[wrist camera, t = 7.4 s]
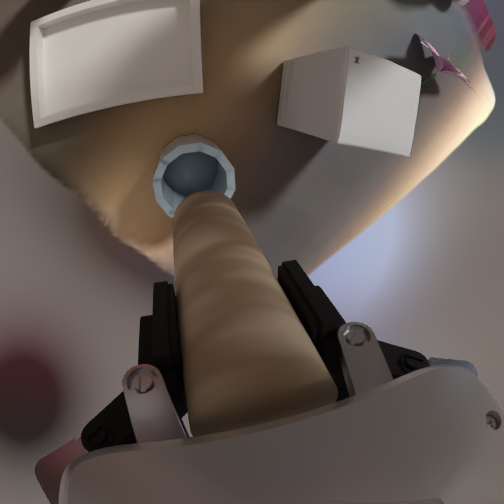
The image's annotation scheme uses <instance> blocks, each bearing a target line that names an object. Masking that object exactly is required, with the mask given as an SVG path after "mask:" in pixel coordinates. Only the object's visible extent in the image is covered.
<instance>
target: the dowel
mask: <svg viewBox="0 0 504 504" xmlns="http://www.w3.org/2000/svg"><path fill="white" fill-rule="evenodd" d="M173 249H174V274H175V293H176V302H177V316H178V328H179V339H180V349H181V359H182V368H183V381H184V389H185V397H186V404H187V411H188V418H189V424H190V430H191V433H192V435H193V437H196V436H203V435H209V434H215V433H221V432H226V431H231V430H236V429H241V428H246V427H250V426H255V425H259V424H263V423H267V422H271V421H275V420H279V419H283V418H287V417H290V416H294V415H297V414H301V413H304V412H307V411H311V410H314V409H317V408H320V407H323V406H326V405H329V404H332V403H335V402H336V400H337V397H338V389H337V386H336V384H335V383H334V381H333V379H332V377H331V375H330V374H329V372H328V370H327V368H326V366H325V364H324V363H323V361H322V359H321V357H320V355H319V354H318V352H317V350H316V348H315V346H314V345H313V343H312V341H311V339H310V337H309V336H308V334H307V332H306V330H305V328H304V327H303V325H302V323H301V321H300V319H299V318H298V316H297V314H296V312H295V310H294V309H293V307H292V305H291V303H290V301H289V300H288V298H287V296H286V294H285V293H284V291H283V289H282V287H281V285H280V284H279V282H278V280H277V278H276V276H275V275H274V273H273V271H272V269H271V268H270V266H269V264H268V262H267V260H266V259H265V257H264V255H263V253H262V252H261V250H260V248H259V246H258V245H257V243H256V241H255V239H254V237H253V236H252V234H251V232H250V230H249V229H248V227H247V225H246V223H245V222H244V220H243V218H242V216H241V215H240V213H239V211H238V209H237V208H236V206H235V204H234V203H233V201H232V200H231V199H230V198H228V197H227V196H226V195H224V194H222V193H220V192H217V191H211V190H205V191H199V192H196V193H193V194H191V195H189V196H188V197H186V198H185V199H184V200H183V201H182V202H181V203H180V204H179V205H178V207H177V209H176V211H175V213H174V217H173Z"/></svg>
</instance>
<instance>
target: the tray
mask: <svg viewBox="0 0 504 504" xmlns="http://www.w3.org/2000/svg"><path fill="white" fill-rule="evenodd" d="M30 88H31V102H32V112H33V121H34V129H35V128H39V127H42V126H46V125H49V124H52V123H55V122H58V121H61V120H65V119H68V118H72V117H75V116H79V115H82V114H86V113H90V112H94V111H98V110H102V109H107V108H111V107H116V106H120V105H125V104H130V103H136V102H141V101H147V100H153V99H160V98H166V97H174V96H182V95H190V94H200V93H203V76H202V55H201V29H200V0H91V1H87V2H84V3H81V4H78V5H74V6H71V7H68V8H65V9H63V10H60V11H57V12H54V13H52V14H49V15H47V16H44V17H42V18H39V19H37V20H34V21H32V22H31V26H30Z"/></svg>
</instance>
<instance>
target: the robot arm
mask: <svg viewBox="0 0 504 504" xmlns="http://www.w3.org/2000/svg"><path fill="white" fill-rule="evenodd" d="M278 282H279V284H280V285H281V287H282V289H283V291H284V293H285V294H286V296H287V298H288V300H289V301H290V303H291V305H292V307H293V309H294V310H295V312H296V314H297V316H298V318H299V319H300V321H301V323H302V325H303V327H304V328H305V330H306V332H307V334H308V336H309V337H310V339H311V341H312V343H313V345H314V346H315V348H316V350H317V352H318V354H319V355H320V357H321V359H322V361H323V363H324V364H325V366H326V368H327V370H328V372H329V374H330V375H331V377H332V379H333V381H334V383H335V384H336V386H337V389H338V397H337V400H336V402H335V403H332V404H329V405H326V406H323V407H320V408H317V409H314V410H311V411H307V412H304V413H301V414H297V415H294V416H290V417H287V418H283V419H279V420H275V421H271V422H267V423H263V424H259V425H255V426H250V427H246V428H241V429H236V430H231V431H226V432H221V433H215V434H209V435H203V436H196V437H190V436H189V433H188V431H187V429H186V427H185V425H184V422H183V420H182V417H183V416H184V415H185V414H186V413H187V412H188V411H187V404H186V397H185V389H184V381H183V368H182V359H181V349H180V339H179V328H178V316H177V302H176V296H175V292H174V287H173V284H168V282H167V281H163V282H157V283H154V290H153V291H154V292H153V315H150V316H142V317H141V318H140V332H139V353H138V355H139V356H138V365H137V366H135V367H132V368H131V369H129V370H128V371H127V372H126V374H125V375H124V377H123V380H122V386H123V392H122V393H121V394H120V395H118V396H117V397H116V398H115V399H114V400H113V401H112V402H111V403H110V404H109V405H108V406H106V407H105V408H104V409H103V410H102V411H101V412H100V413H99V414H98V415H97V416H95V418H93V419H92V420H91V421H90V422H89V423H88V424H87V425H86V426H85V427H84V429H83V431H82V434H81V437H80V438H78V439H77V440H76V439H75V438H73V439H71V440H70V441H68V442H67V443H65V444H63V445H62V446H60V447H59V448H57V449H55V450H54V451H52V452H51V453H49V454H47V455H46V456H44V457H42V458H41V459H40V460H39V461H38V462H37V463H36V466H35V475H36V478H37V480H38V482H39V484H40V486H41V488H42V490H43V491H44V493H45V495H46V497H47V499H48V500H49V502H50V504H504V409H503V407H502V406H501V405H500V403H499V402H498V401H497V399H496V398H495V397H494V395H493V394H492V393H491V392H490V390H489V389H488V388H487V387H486V386H485V385H484V384H483V382H482V381H481V380H480V379H479V378H478V375H477V371H476V368H475V367H474V365H473V364H471V363H470V362H468V361H463V360H452V359H443V358H434V357H430V358H429V360H427V359H426V358H425V356H424V355H422V354H421V353H419V352H416V351H413V350H409V349H406V348H403V347H399V346H395V345H391V344H388V343H385V342H382V341H378V340H377V339H376V336H375V335H374V332H373V331H372V329H371V328H370V327H368V326H367V325H365V324H363V323H359V322H349V323H346V322H345V321H344V319H343V318H342V316H341V315H340V314H339V312H338V311H337V310H336V308H335V307H334V305H333V304H332V302H331V301H330V300H329V298H328V297H327V296H326V294H325V293H324V292H323V290H322V289H321V288H320V287H319V286H314V285H313V283H312V282H311V281H310V279H309V278H308V276H307V275H306V273H305V272H304V271H303V269H302V268H301V266H300V265H299V264H298V262H297V261H296V260H291V261H285V262H282V266H278Z"/></svg>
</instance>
